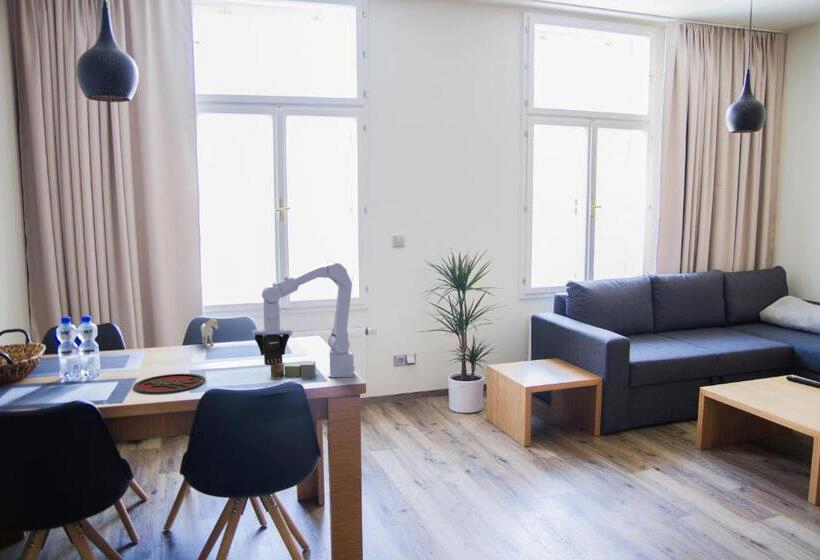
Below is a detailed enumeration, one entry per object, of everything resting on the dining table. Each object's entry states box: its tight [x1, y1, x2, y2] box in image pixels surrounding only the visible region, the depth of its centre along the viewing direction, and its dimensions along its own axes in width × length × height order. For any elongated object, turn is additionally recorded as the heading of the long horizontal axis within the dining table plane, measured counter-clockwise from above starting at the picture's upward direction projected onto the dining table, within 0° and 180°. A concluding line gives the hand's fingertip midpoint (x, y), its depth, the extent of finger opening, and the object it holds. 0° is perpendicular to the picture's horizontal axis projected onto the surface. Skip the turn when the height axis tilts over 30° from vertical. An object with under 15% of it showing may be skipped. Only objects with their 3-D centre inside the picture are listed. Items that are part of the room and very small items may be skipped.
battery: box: [263, 335, 284, 366], centre depth 231 cm, size 7×4×11 cm, turn 115°
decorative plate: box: [133, 373, 207, 395], centre depth 230 cm, size 25×1×25 cm
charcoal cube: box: [300, 361, 317, 378], centre depth 240 cm, size 5×5×5 cm
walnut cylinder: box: [270, 362, 285, 379], centre depth 240 cm, size 5×5×5 cm
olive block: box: [284, 363, 302, 377], centre depth 242 cm, size 6×4×4 cm, turn 84°
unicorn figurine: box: [200, 318, 226, 347], centre depth 298 cm, size 7×20×13 cm, turn 46°
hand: (273, 354), depth 231 cm, fingers closed on battery, 7 cm apart
